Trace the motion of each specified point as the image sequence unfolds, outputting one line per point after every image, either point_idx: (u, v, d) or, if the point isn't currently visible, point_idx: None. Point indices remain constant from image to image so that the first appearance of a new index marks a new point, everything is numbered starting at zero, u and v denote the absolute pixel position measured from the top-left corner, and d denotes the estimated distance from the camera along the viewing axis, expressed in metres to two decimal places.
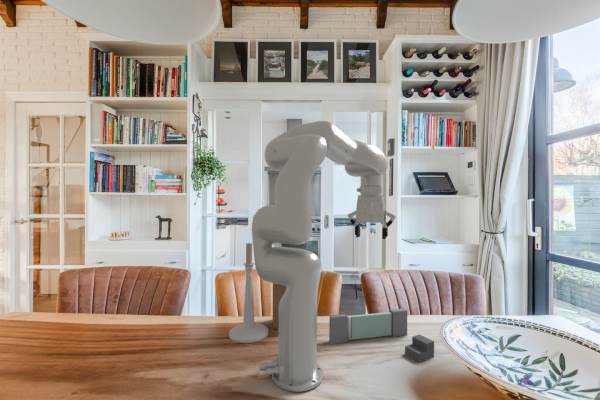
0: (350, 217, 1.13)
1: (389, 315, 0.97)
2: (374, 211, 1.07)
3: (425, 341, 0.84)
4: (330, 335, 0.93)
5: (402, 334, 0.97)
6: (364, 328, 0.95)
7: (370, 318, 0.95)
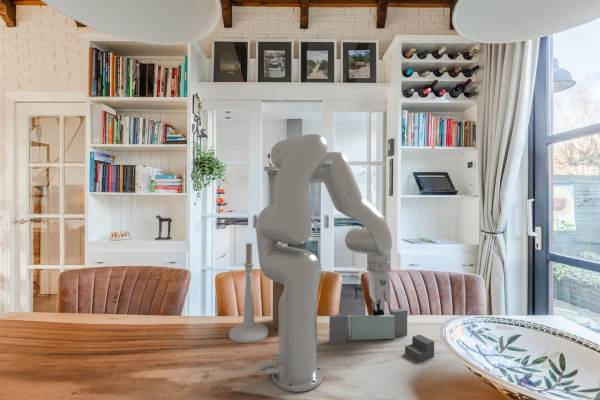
0: None
1: (392, 318, 0.94)
2: None
3: (425, 341, 0.84)
4: (330, 335, 0.93)
5: (402, 334, 0.97)
6: (365, 329, 0.94)
7: (372, 319, 0.94)
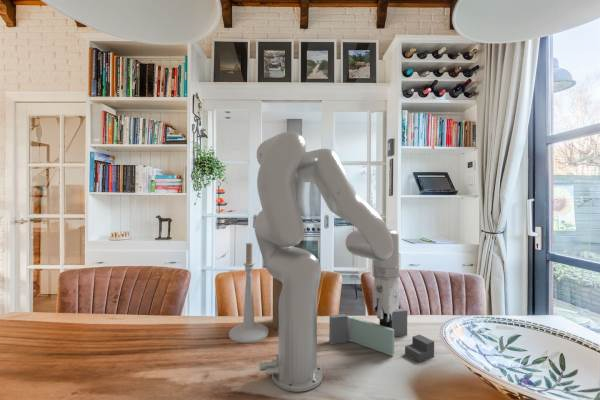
0: (382, 316, 0.86)
1: (390, 332, 0.85)
2: (397, 295, 0.89)
3: (425, 341, 0.84)
4: (330, 335, 0.93)
5: (402, 334, 0.97)
6: (362, 334, 0.90)
7: (369, 326, 0.89)
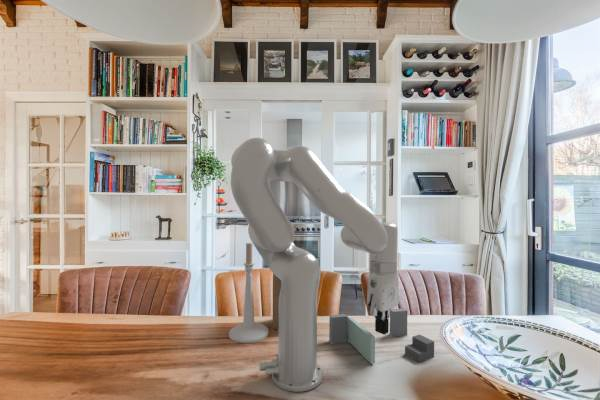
0: (376, 313, 0.81)
1: (369, 338, 0.81)
2: (395, 293, 0.84)
3: (425, 341, 0.84)
4: (330, 335, 0.93)
5: (402, 334, 0.97)
6: (354, 336, 0.89)
7: (358, 329, 0.87)
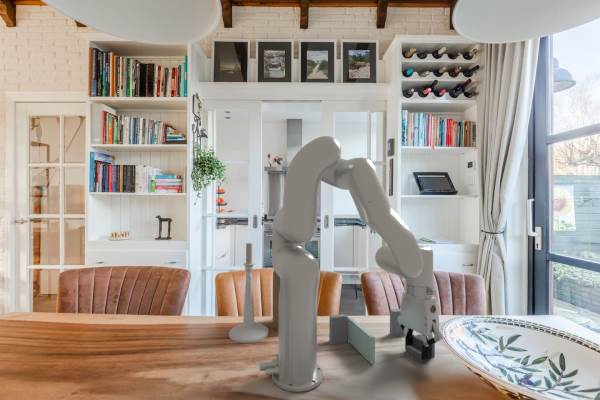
0: None
1: (369, 338, 0.81)
2: None
3: None
4: (330, 335, 0.93)
5: (402, 334, 0.97)
6: (354, 336, 0.89)
7: (358, 329, 0.87)
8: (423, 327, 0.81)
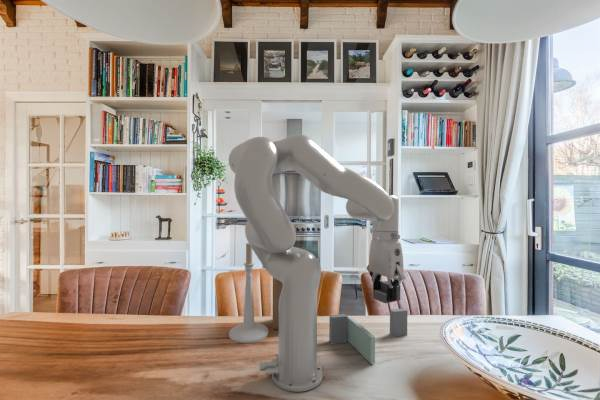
0: None
1: (369, 338, 0.81)
2: None
3: None
4: (330, 335, 0.93)
5: (402, 334, 0.97)
6: (354, 336, 0.89)
7: (358, 329, 0.87)
8: (388, 269, 0.85)
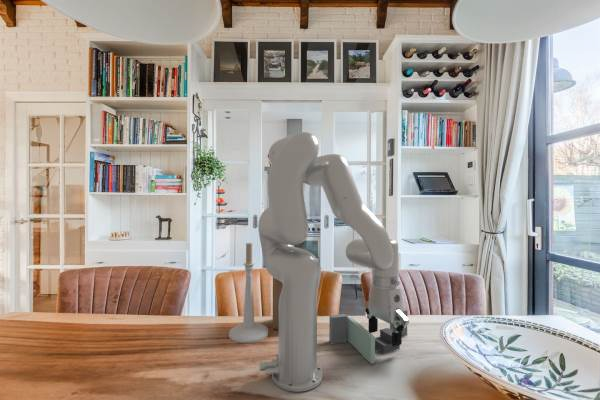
0: None
1: (369, 338, 0.81)
2: None
3: (391, 334, 0.89)
4: (330, 335, 0.93)
5: (402, 334, 0.97)
6: (354, 336, 0.89)
7: (358, 329, 0.87)
8: (387, 315, 0.85)
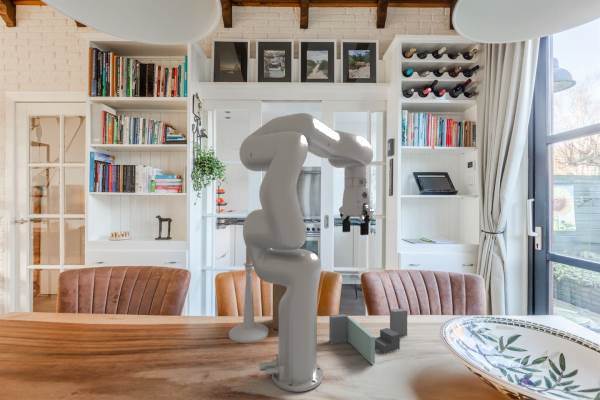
0: None
1: (369, 338, 0.81)
2: None
3: (391, 334, 0.89)
4: (330, 335, 0.93)
5: (402, 334, 0.97)
6: (354, 336, 0.89)
7: (358, 329, 0.87)
8: (356, 210, 1.00)
